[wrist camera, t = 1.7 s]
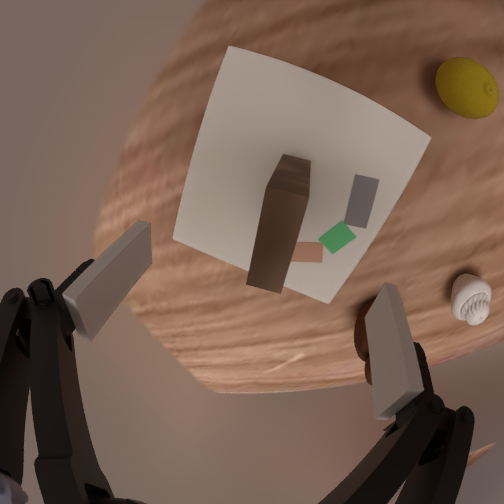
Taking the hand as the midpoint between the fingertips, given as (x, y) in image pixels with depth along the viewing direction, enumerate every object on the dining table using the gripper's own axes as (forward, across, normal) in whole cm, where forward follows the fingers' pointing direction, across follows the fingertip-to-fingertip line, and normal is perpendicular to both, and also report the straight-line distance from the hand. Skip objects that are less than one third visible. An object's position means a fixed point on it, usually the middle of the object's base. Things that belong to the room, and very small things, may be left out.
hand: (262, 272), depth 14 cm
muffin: (+15, +26, -5) cm, 30 cm away
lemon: (+15, +13, +15) cm, 25 cm away
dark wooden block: (+13, 0, -3) cm, 13 cm away
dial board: (+15, 0, 0) cm, 15 cm away
